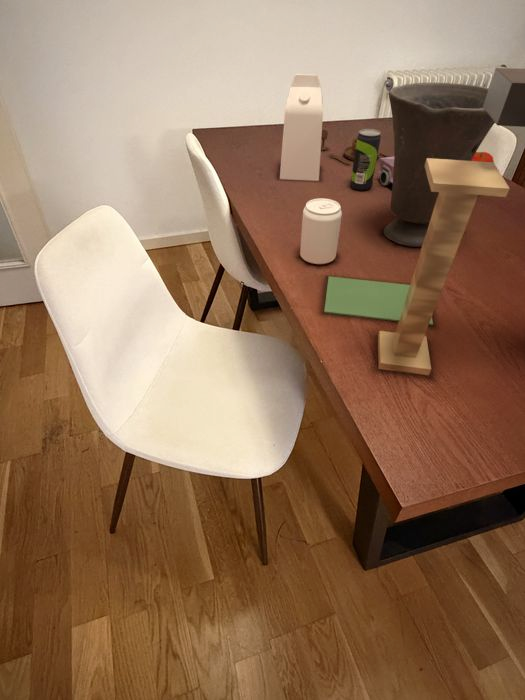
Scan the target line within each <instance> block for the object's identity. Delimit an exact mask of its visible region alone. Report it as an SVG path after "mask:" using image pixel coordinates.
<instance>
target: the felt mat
mask: <svg viewBox="0 0 525 700" xmlns="http://www.w3.org/2000/svg"><path fill="white" fill-rule="evenodd" d="M409 287H410V284H405V283H397V282H386V281H376V280H368V279H360V278H359V279H358V278H348V277H338V276H328V278H327V286H326V293H325V302H324V309H323V314H331V315H339V316H346V317H347V316H348V317H356V318H364V319H365V318H366V319H373V320H381V321H390V322H399V319H400V316H401V313H402V310H403V306H404V303H405V300H406V297H407V294H408V290H409ZM428 326H434V321H433V316H432V317H431V320H430V323H429V325H428Z"/></svg>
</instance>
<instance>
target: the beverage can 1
mask: <svg viewBox="0 0 525 700" xmlns="http://www.w3.org/2000/svg"><path fill="white" fill-rule="evenodd" d="M342 217H343V211H342V209H341V204H340V202H338V201H336V200H334V199H330V198H325V197H323V198H318V197H317V198H313V199H310V200H308V201H307V202H306V203H305V206H304V208H303V211H302V220H301V221H302V222H301V233H300V246H299V247H300V249H299V255H300V258H301V259H302V260H304V261H305V262H307V263H310V264H316V265H325V264H329V263H332V262H333V261H334V260H335V259H336V257H337V252H338V244H339V239H340V231H341V225H342V224H341V223H342Z"/></svg>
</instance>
